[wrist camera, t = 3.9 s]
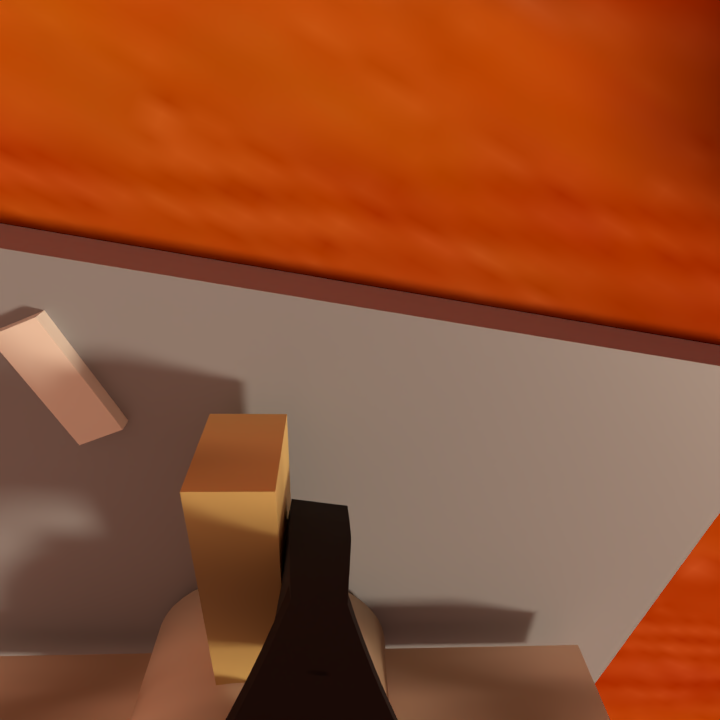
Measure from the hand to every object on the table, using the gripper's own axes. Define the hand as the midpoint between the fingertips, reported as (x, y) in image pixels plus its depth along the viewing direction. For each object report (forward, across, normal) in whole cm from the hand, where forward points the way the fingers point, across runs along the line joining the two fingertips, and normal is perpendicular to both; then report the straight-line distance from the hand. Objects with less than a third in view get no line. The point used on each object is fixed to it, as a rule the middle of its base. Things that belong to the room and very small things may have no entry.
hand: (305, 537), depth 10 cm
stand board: (+2, 0, +6) cm, 6 cm away
